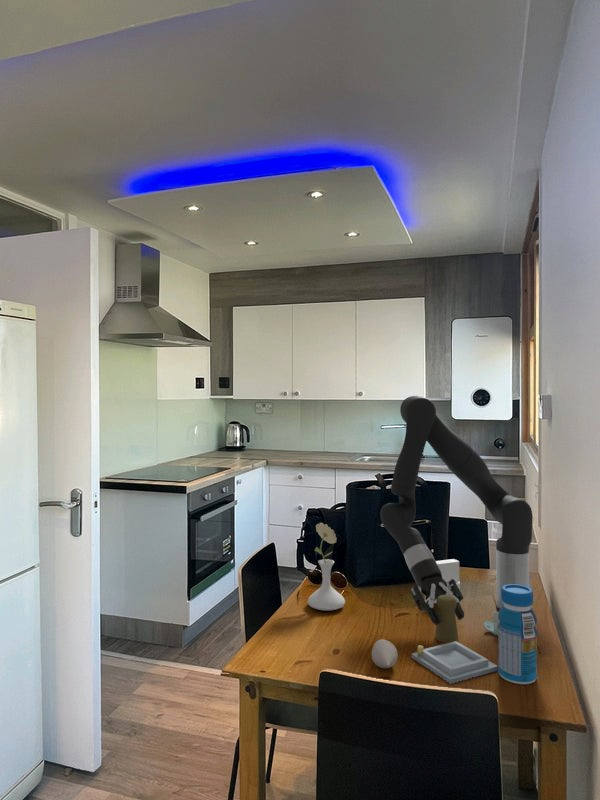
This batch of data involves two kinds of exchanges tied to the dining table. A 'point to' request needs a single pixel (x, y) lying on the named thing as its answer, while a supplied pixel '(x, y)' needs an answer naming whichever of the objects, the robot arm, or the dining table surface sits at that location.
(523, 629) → the beverage bottle
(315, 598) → the flower in vase
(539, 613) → the dining table surface
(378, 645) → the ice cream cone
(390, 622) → the dining table surface
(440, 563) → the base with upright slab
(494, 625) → the pacifier
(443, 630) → the cork
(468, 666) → the board
